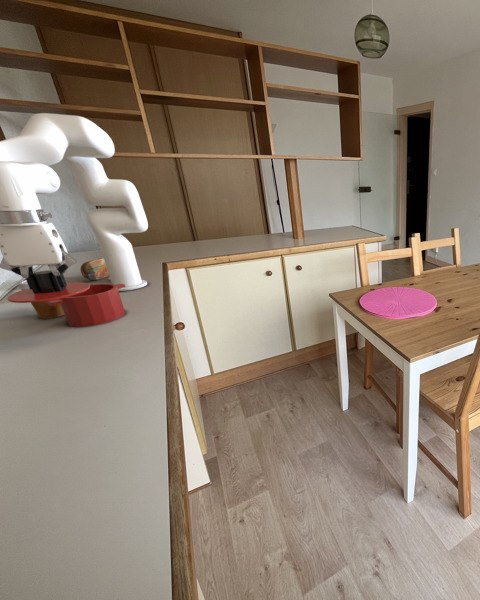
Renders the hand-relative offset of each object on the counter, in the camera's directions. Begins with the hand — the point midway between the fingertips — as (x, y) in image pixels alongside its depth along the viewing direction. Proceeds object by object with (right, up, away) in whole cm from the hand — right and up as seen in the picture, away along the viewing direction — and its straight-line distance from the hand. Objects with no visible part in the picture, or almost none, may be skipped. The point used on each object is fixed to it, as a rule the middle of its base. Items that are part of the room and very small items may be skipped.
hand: (50, 290), depth 81 cm
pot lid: (0, -1, 0) cm, 1 cm away
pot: (-9, -8, +22) cm, 25 cm away
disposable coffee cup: (-24, -8, +23) cm, 34 cm away
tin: (-45, +7, +61) cm, 76 cm away
